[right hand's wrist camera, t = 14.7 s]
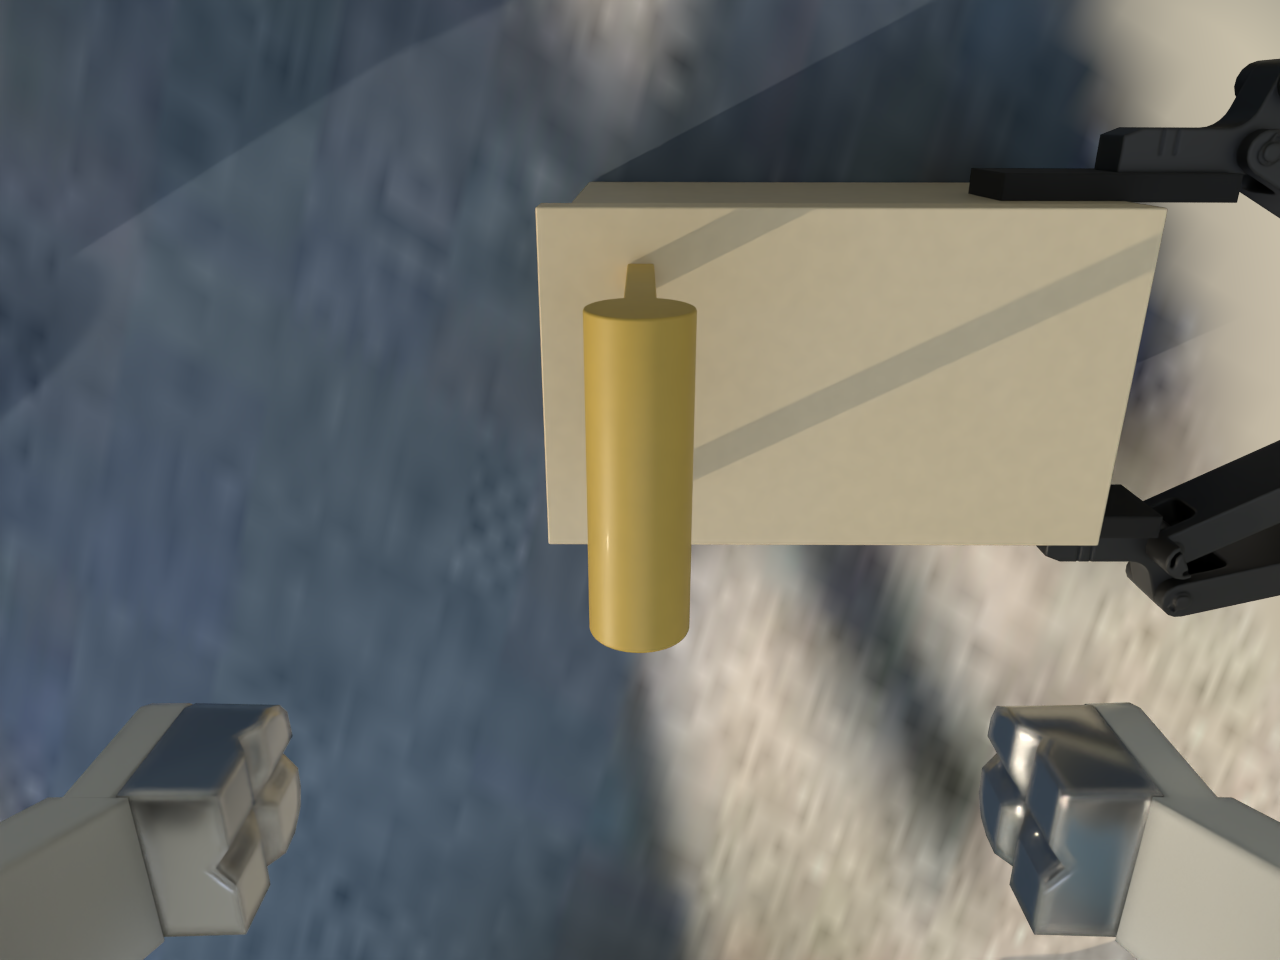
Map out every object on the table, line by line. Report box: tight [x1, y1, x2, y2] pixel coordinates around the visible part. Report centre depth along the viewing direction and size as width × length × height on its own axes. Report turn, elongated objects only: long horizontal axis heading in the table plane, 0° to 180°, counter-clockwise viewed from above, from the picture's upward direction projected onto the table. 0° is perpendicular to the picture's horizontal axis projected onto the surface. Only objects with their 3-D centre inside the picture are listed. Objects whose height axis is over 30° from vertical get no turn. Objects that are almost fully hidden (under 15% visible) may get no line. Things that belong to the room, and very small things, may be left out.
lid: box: [536, 203, 1168, 653], centre depth 22 cm, size 16×10×9 cm, turn 90°
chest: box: [572, 182, 1138, 204], centre depth 30 cm, size 15×10×9 cm, turn 90°
